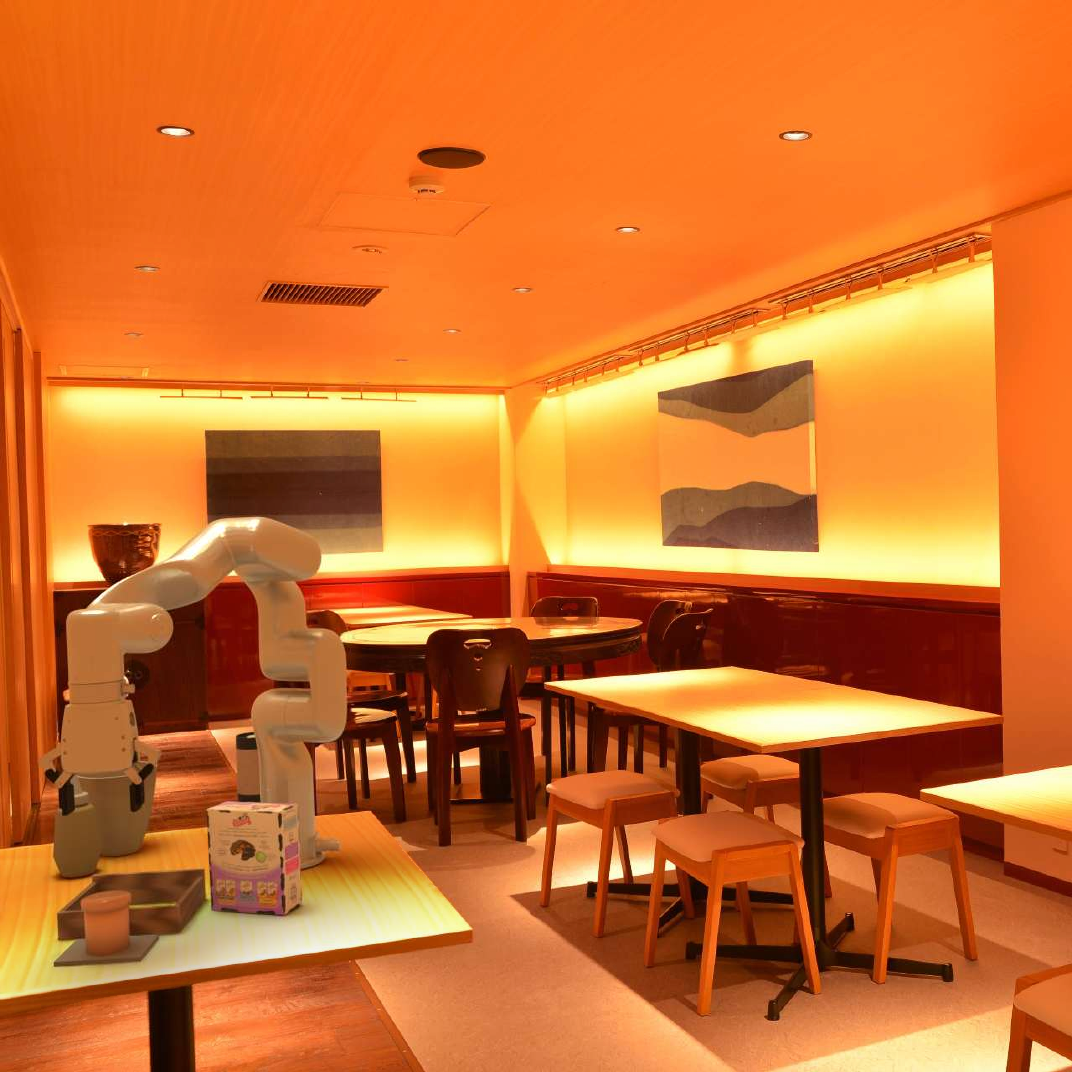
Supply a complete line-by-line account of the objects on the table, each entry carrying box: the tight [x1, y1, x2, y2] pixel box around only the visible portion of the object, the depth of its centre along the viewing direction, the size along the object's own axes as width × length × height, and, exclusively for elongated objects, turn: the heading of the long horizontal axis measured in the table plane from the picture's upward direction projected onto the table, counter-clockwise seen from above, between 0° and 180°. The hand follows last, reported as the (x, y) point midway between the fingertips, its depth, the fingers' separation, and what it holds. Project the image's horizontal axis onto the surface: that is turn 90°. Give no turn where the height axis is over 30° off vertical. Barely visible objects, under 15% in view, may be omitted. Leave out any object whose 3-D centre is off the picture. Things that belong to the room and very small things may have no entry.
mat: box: [53, 934, 160, 967], centre depth 162 cm, size 12×9×1 cm
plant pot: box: [77, 760, 158, 857], centre depth 217 cm, size 15×15×16 cm
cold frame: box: [56, 868, 207, 941], centre depth 177 cm, size 18×16×5 cm
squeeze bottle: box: [52, 774, 101, 879], centre depth 203 cm, size 8×8×18 cm
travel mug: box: [235, 731, 261, 803], centre depth 226 cm, size 8×8×20 cm
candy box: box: [205, 801, 303, 916], centre depth 179 cm, size 14×6×16 cm, turn 71°
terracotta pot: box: [81, 891, 131, 956], centre depth 162 cm, size 7×7×7 cm
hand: (102, 811), depth 162 cm, fingers open, 9 cm apart
